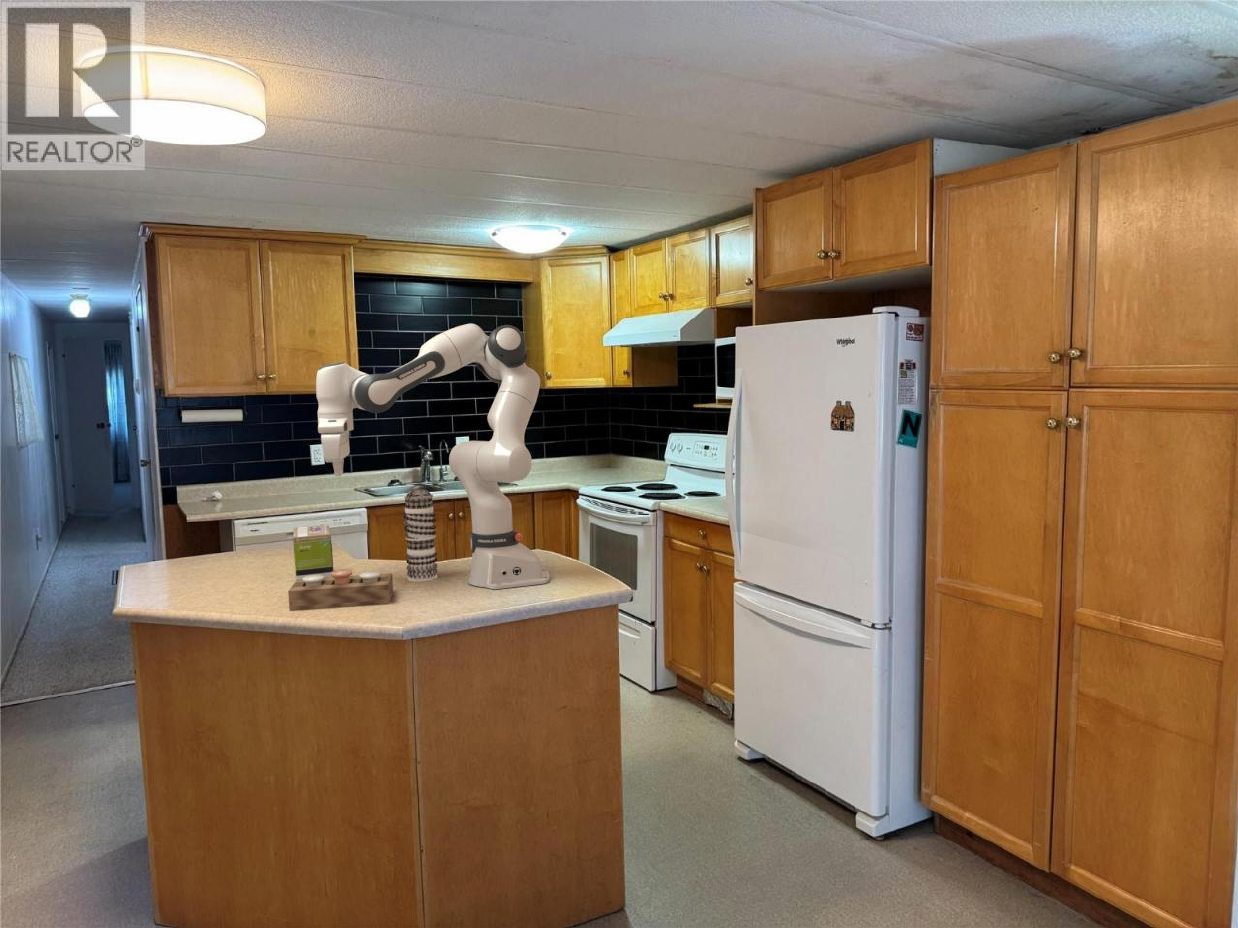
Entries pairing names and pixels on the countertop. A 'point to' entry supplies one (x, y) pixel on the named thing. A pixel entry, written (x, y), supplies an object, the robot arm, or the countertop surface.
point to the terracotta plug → (341, 576)
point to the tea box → (312, 551)
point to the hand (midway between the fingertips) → (338, 475)
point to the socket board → (341, 593)
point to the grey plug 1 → (313, 580)
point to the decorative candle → (420, 536)
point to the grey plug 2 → (370, 576)
